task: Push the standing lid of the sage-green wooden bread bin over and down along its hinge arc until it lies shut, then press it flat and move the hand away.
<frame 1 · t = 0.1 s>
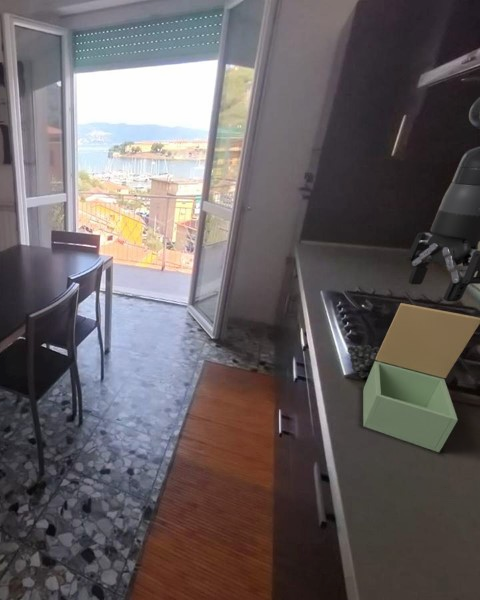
hand: (431, 291, 71), 31 cm above the worktop, tool pointing down, fingers open, 8 cm apart
fruit: (363, 370, 98), on the worktop
bin lid: (423, 341, 79), point 17 cm above the worktop, hinge at 80.0°
bread bin: (396, 417, 82), on the worktop
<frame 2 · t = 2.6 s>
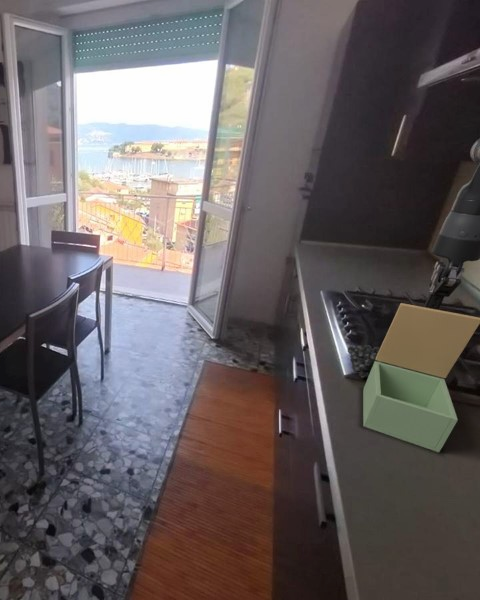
hand: (430, 309, 81), 23 cm above the worktop, tool pointing down, fingers closed
nothing on the worktop moved.
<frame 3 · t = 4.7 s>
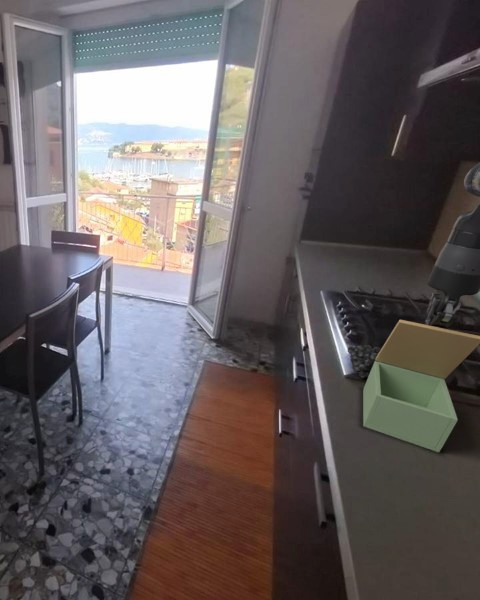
hand: (425, 341, 77), 18 cm above the worktop, tool pointing down, fingers closed
bin lid: (423, 350, 78), point 16 cm above the worktop, hinge at 60.3°, touching gripper
everything else where it was.
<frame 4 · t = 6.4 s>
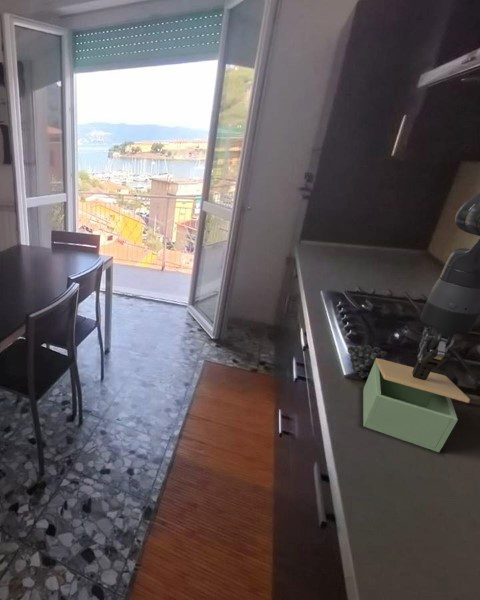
hand: (418, 376, 75), 13 cm above the worktop, tool pointing down, fingers closed
bin lid: (416, 377, 77), point 11 cm above the worktop, hinge at 15.4°
everything else where it was.
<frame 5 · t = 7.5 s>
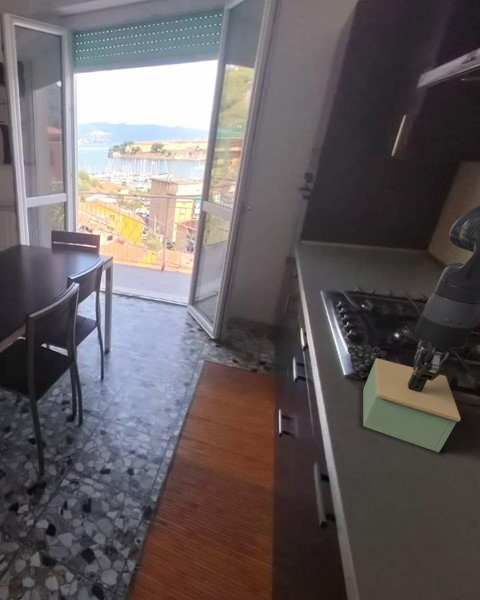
hand: (413, 388, 76), 10 cm above the worktop, tool pointing down, fingers closed
bin lid: (412, 386, 78), point 9 cm above the worktop, hinge at 0.4°, touching gripper
everything else where it was.
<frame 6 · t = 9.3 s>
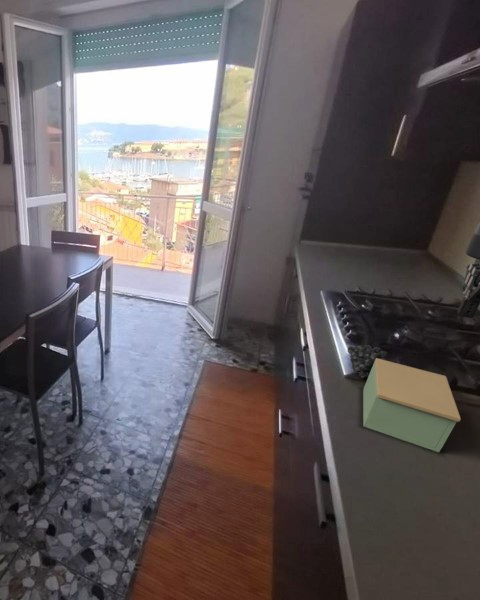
hand: (464, 315, 74), 25 cm above the worktop, tool pointing down, fingers closed
bin lid: (412, 386, 78), point 9 cm above the worktop, hinge at 0.4°
everything else where it was.
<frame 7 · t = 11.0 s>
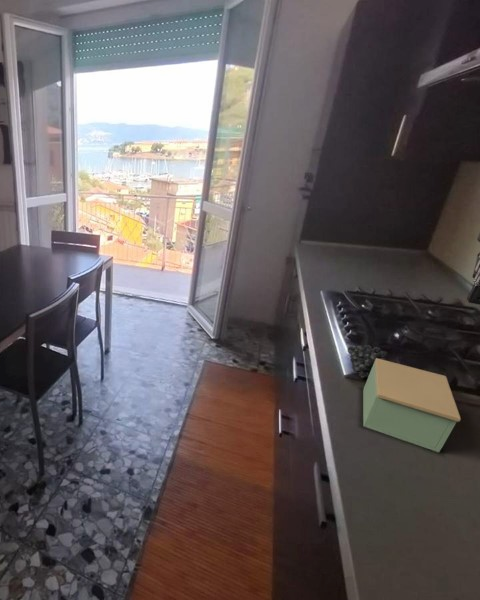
hand: (473, 302, 75), 27 cm above the worktop, tool pointing down, fingers closed
nothing on the worktop moved.
at the end: bin lid at +0° (first picture: +80°); fruit moved 0.2 cm from its start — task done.
